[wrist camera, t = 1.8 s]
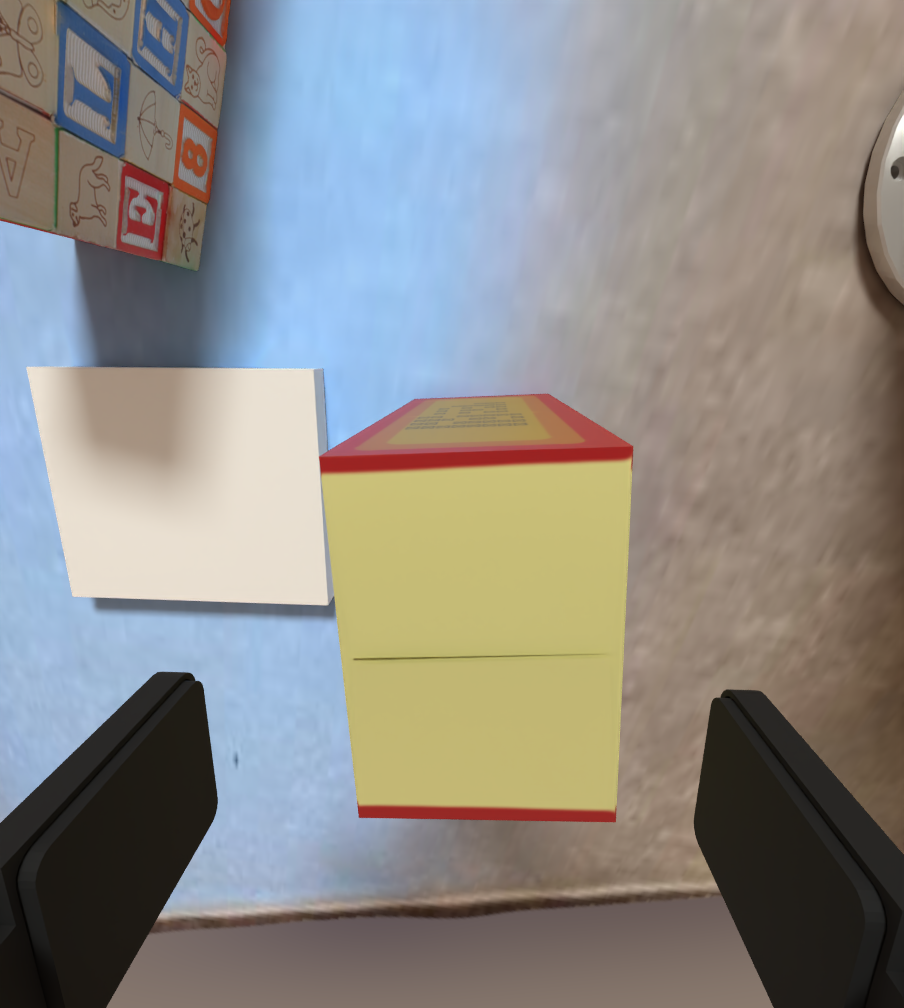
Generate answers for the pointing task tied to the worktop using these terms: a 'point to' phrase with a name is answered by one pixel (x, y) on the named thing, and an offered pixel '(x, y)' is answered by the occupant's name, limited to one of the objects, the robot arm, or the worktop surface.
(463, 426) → the baking soda box
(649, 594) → the worktop surface
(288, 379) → the cutting board
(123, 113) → the stack of blocks
